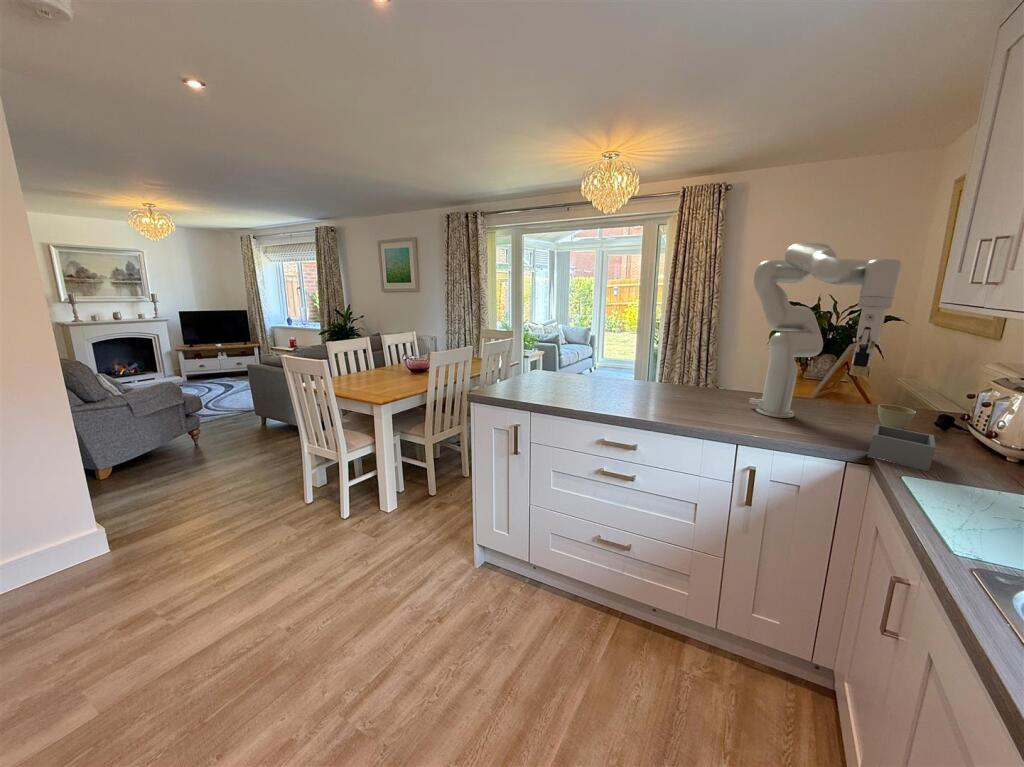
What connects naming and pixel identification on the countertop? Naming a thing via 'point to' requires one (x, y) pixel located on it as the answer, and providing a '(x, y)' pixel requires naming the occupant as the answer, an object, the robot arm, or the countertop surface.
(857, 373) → the sprinkles bottle
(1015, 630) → the countertop surface
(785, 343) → the robot arm
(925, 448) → the bin
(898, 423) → the pale green bowl
